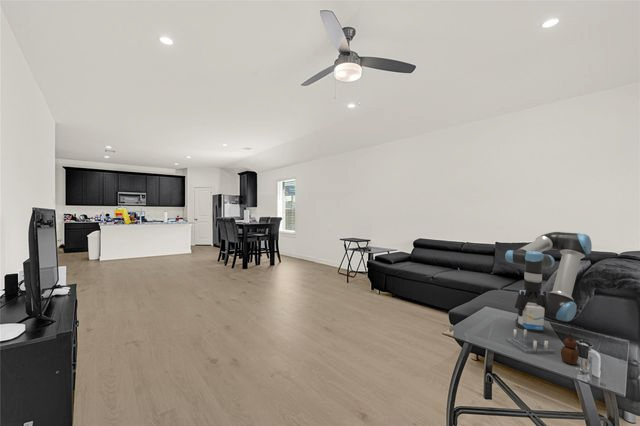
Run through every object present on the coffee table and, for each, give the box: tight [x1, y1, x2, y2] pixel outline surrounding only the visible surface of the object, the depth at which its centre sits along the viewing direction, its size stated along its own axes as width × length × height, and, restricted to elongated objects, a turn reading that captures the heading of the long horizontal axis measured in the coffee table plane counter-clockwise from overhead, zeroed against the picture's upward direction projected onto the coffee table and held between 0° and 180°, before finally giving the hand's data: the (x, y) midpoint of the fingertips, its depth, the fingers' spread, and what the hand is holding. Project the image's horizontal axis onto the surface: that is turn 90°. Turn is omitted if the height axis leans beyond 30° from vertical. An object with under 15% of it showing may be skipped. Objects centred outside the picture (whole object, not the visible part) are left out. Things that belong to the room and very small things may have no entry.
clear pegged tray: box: [505, 328, 556, 354], centre depth 151 cm, size 16×15×6 cm
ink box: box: [517, 303, 545, 330], centre depth 151 cm, size 9×8×12 cm
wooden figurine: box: [560, 332, 580, 365], centre depth 136 cm, size 7×6×15 cm
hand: (530, 322), depth 151 cm, fingers closed on ink box, 9 cm apart
